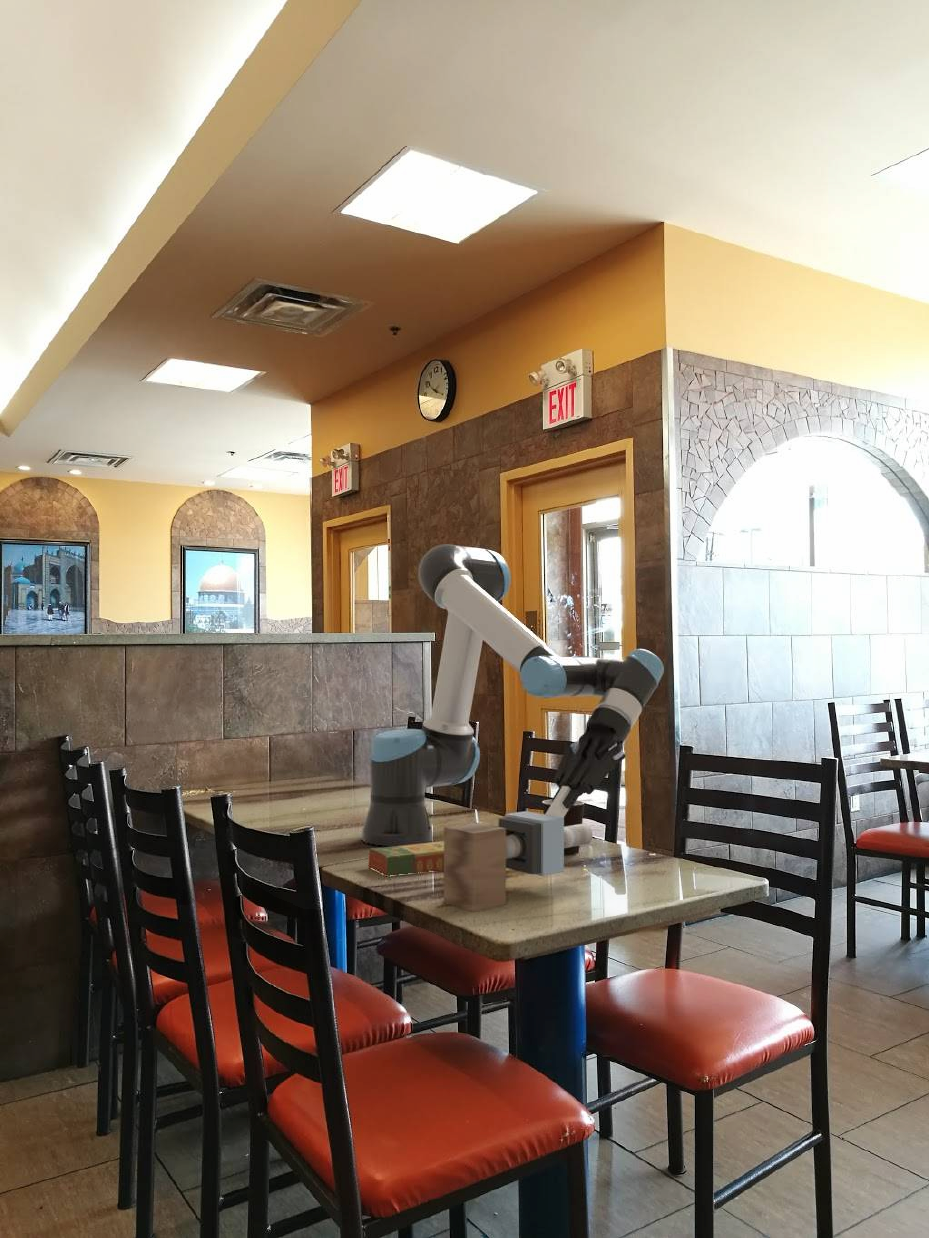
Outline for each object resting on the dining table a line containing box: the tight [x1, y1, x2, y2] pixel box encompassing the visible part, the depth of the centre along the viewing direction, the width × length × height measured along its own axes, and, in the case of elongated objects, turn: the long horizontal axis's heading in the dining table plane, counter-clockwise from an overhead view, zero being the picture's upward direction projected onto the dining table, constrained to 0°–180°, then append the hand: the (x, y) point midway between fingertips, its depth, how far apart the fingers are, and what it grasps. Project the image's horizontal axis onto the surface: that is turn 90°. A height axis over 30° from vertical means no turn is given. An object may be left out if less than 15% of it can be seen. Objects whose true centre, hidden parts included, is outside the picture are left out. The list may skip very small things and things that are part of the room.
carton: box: [368, 840, 444, 876], centre depth 177 cm, size 8×16×4 cm, turn 119°
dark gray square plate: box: [498, 817, 541, 875], centre depth 158 cm, size 8×2×8 cm, turn 42°
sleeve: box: [504, 810, 565, 877], centre depth 161 cm, size 9×5×9 cm, turn 42°
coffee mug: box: [541, 799, 585, 856], centre depth 195 cm, size 12×9×10 cm
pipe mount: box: [443, 822, 593, 913], centre depth 159 cm, size 7×30×12 cm, turn 132°
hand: (551, 820), depth 163 cm, fingers closed
